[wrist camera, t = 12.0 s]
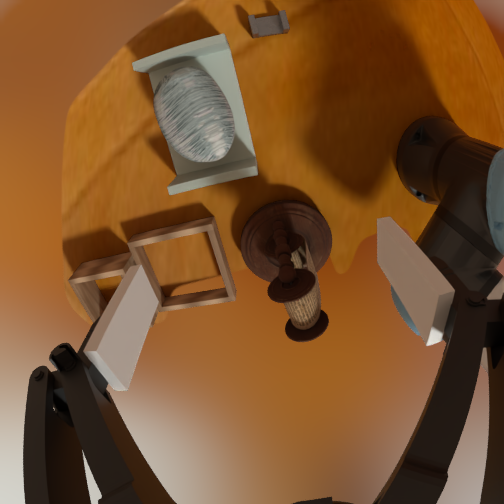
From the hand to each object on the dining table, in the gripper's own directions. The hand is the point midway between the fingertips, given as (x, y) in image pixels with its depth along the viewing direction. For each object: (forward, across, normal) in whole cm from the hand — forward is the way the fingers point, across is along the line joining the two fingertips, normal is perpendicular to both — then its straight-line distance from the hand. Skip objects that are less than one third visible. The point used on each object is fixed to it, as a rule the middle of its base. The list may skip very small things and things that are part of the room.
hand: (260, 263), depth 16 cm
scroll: (+31, -2, +15) cm, 34 cm away
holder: (+31, +6, -8) cm, 32 cm away
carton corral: (+31, +31, +18) cm, 47 cm away
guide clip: (+31, -6, -19) cm, 37 cm away
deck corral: (+31, +16, +16) cm, 38 cm away
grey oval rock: (+30, +6, -8) cm, 31 cm away
